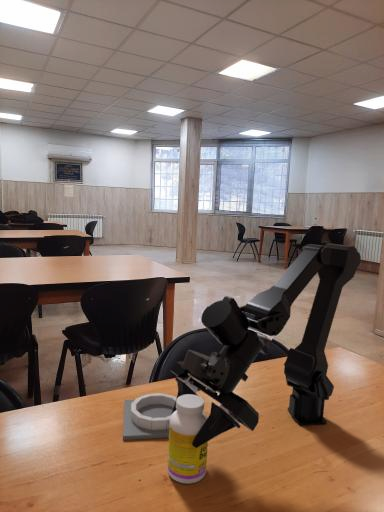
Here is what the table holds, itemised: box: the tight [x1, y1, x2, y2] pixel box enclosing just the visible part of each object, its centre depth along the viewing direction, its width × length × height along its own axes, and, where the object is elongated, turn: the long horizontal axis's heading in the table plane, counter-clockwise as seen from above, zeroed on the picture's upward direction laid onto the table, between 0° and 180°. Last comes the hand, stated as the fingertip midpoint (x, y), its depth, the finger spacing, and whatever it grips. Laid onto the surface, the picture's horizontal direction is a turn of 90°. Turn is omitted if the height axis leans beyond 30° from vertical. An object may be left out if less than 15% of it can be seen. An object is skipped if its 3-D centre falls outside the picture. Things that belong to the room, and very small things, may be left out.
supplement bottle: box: [167, 394, 209, 484], centre depth 64 cm, size 7×7×13 cm
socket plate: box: [122, 392, 177, 441], centre depth 81 cm, size 14×14×3 cm
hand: (181, 435), depth 63 cm, fingers closed on supplement bottle, 7 cm apart
